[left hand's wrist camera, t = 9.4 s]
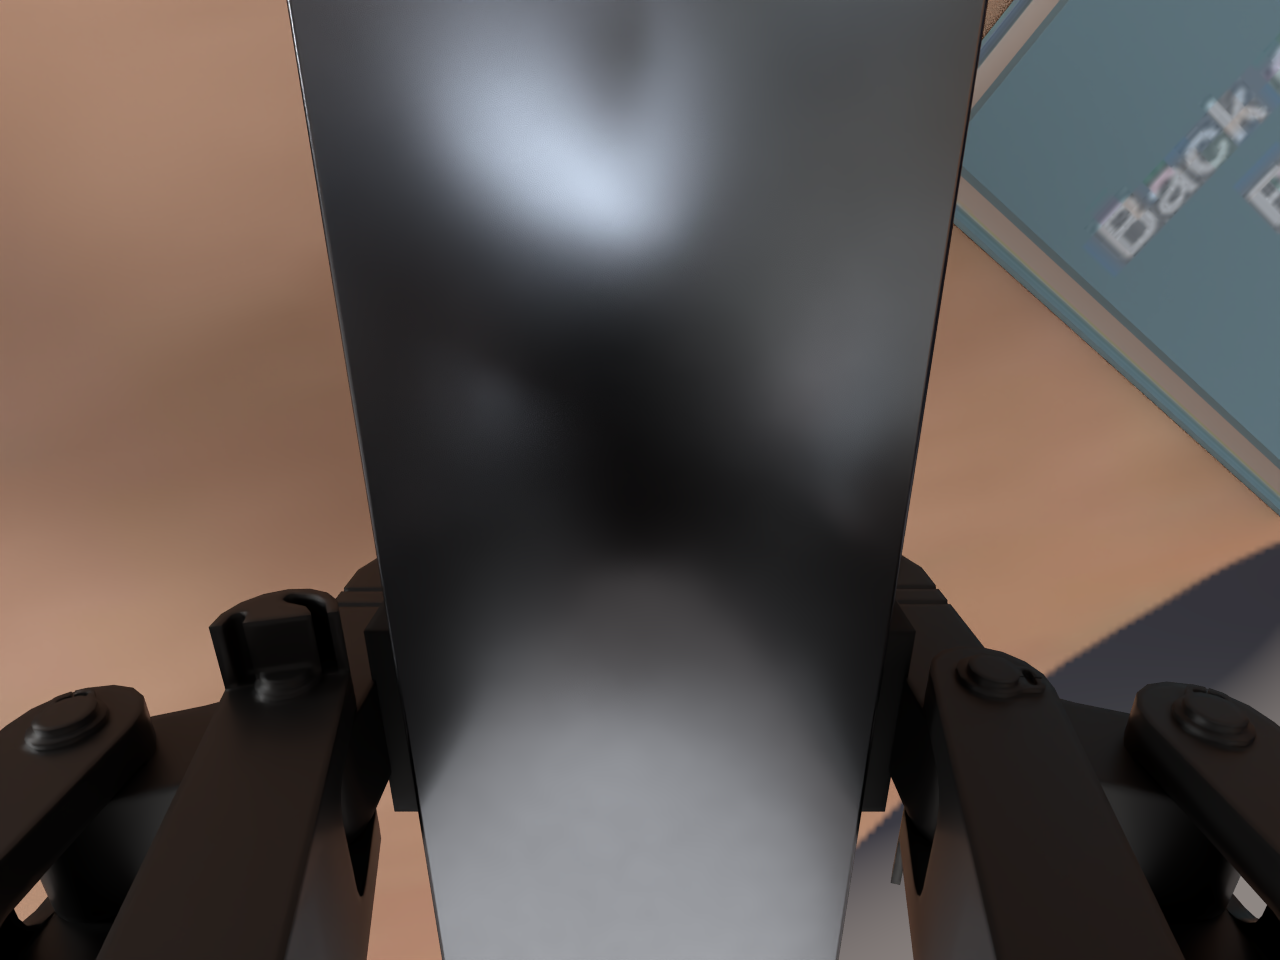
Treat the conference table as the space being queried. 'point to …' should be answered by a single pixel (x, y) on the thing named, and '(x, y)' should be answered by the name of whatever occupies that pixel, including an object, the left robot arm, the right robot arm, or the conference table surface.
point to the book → (1144, 199)
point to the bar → (638, 435)
